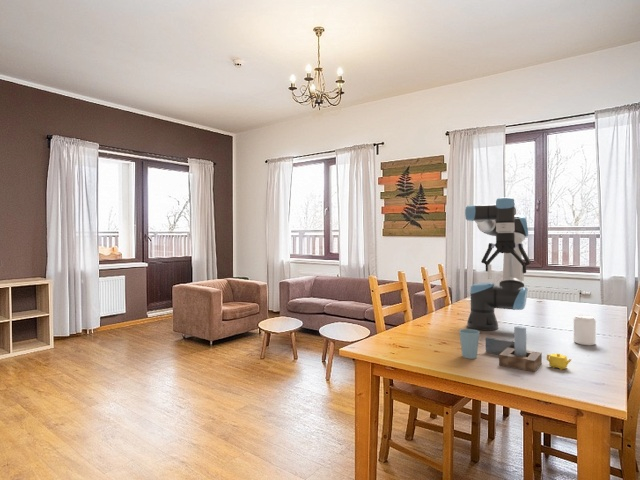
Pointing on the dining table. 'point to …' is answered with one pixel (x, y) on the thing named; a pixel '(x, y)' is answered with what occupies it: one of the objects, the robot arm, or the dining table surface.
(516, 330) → the peg
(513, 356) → the socket block
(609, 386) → the dining table surface
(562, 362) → the teapot
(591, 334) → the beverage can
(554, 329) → the dining table surface
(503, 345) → the rail
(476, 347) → the cup
